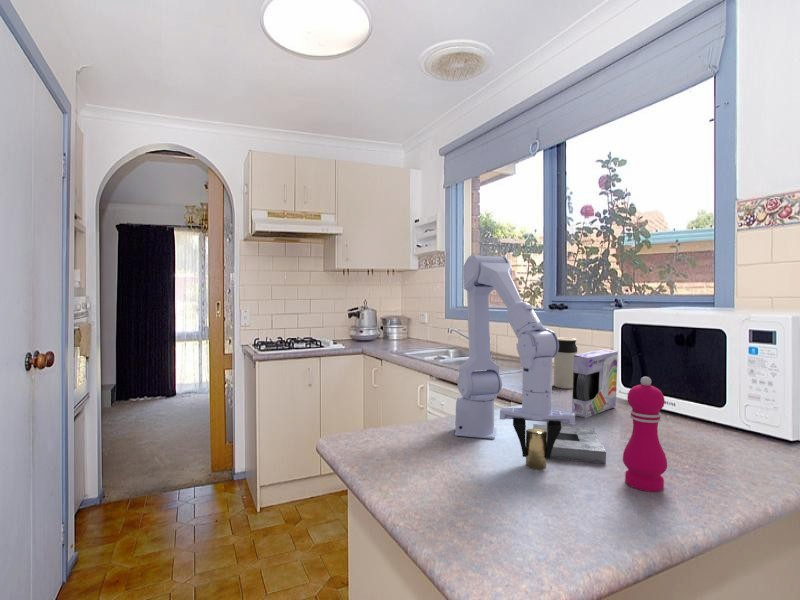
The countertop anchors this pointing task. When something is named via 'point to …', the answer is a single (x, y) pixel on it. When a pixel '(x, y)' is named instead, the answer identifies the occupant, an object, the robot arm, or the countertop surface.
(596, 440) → the plate
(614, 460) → the countertop surface
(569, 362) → the travel mug
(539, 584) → the countertop surface
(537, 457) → the brass cylinder
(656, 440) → the pepper mill
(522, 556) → the countertop surface
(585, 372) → the cake pan box
